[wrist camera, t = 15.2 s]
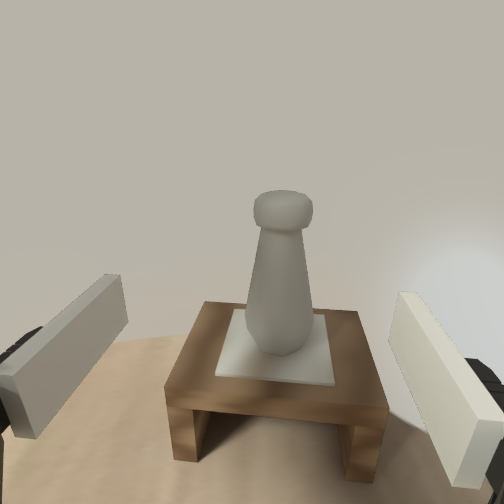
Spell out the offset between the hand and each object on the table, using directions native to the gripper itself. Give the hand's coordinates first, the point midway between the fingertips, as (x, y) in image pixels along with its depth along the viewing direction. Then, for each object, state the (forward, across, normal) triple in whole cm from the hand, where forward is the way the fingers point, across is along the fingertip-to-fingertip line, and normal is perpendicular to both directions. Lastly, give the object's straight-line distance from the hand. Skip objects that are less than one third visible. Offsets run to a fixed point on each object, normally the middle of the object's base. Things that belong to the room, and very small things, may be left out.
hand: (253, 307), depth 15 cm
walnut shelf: (+10, +1, -18) cm, 21 cm away
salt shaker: (+10, +1, -10) cm, 14 cm away
